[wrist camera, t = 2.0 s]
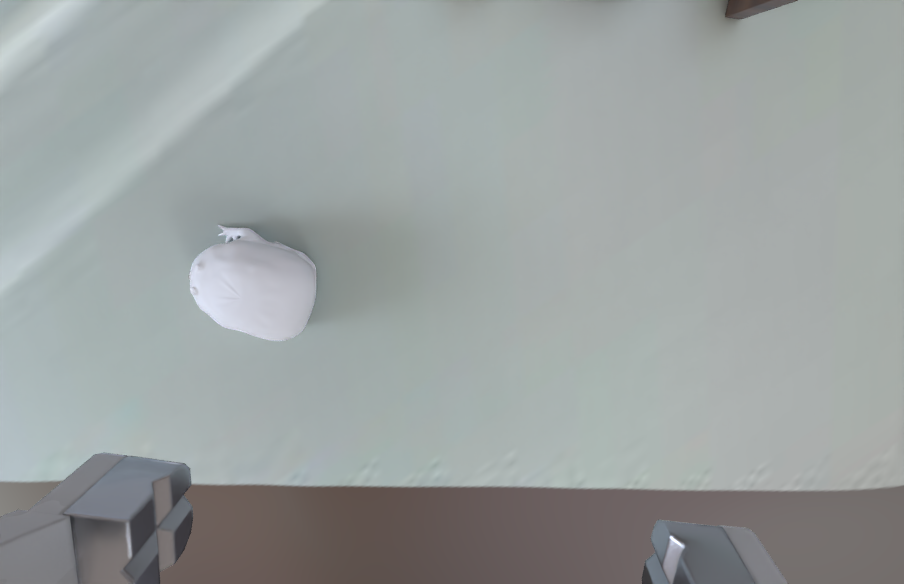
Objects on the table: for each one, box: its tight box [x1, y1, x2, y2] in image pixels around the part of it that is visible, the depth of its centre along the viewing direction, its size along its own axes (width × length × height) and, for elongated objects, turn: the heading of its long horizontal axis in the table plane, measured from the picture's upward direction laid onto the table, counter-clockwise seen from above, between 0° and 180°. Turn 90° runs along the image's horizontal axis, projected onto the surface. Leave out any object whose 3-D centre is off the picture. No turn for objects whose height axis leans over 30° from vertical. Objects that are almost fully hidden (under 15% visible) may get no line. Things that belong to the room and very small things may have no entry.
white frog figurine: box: [189, 225, 317, 341], centre depth 36 cm, size 8×7×4 cm
